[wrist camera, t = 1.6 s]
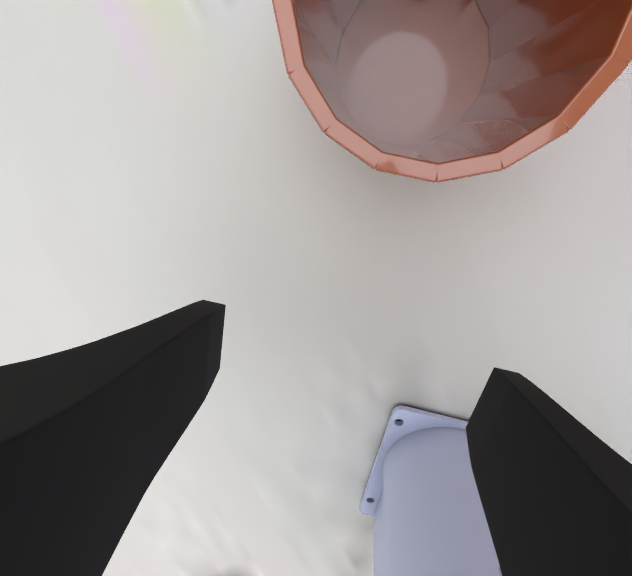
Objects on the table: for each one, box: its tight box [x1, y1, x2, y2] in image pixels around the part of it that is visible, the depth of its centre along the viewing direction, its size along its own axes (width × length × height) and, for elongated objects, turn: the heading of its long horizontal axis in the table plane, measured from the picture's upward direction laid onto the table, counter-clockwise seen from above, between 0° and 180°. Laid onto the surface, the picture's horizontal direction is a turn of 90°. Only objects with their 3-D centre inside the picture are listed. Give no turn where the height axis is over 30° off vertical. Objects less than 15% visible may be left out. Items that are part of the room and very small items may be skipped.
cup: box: [272, 0, 632, 182], centre depth 11 cm, size 7×7×10 cm
